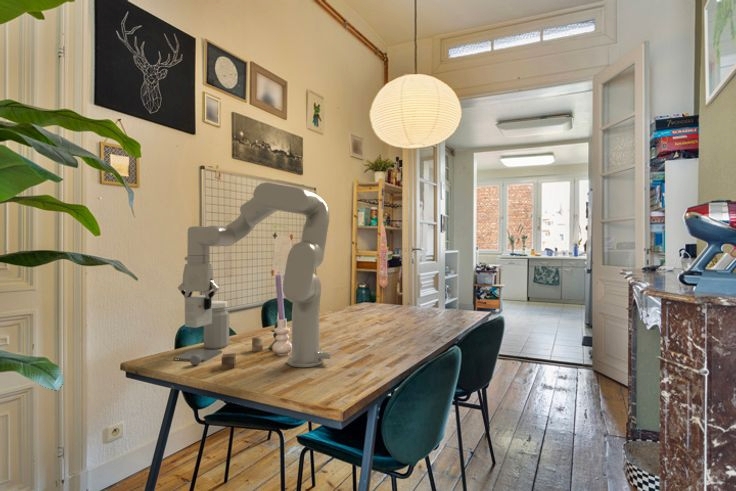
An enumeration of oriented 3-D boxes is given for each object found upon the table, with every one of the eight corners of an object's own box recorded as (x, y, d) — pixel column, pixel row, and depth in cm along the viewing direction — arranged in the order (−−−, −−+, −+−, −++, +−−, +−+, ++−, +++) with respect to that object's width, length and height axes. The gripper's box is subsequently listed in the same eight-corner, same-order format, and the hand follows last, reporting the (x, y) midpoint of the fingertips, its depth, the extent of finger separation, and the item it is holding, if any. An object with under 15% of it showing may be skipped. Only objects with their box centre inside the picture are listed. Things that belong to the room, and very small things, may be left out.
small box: (200, 322, 155) (200, 294, 155) (212, 323, 153) (212, 295, 152) (184, 326, 147) (184, 297, 147) (196, 327, 145) (196, 298, 145)
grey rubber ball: (203, 363, 141) (203, 353, 141) (197, 366, 137) (197, 356, 137) (193, 363, 141) (193, 352, 141) (187, 366, 138) (187, 355, 138)
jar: (217, 350, 158) (218, 304, 157) (197, 348, 161) (197, 302, 161) (234, 344, 167) (234, 300, 167) (215, 342, 170) (215, 299, 170)
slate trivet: (221, 352, 155) (221, 350, 155) (204, 361, 143) (204, 359, 143) (192, 351, 157) (192, 349, 157) (173, 360, 145) (173, 357, 145)
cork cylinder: (264, 349, 160) (264, 336, 160) (260, 352, 156) (260, 339, 156) (254, 349, 160) (254, 336, 160) (250, 351, 156) (250, 338, 156)
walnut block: (235, 365, 140) (235, 353, 140) (234, 368, 136) (234, 356, 136) (223, 365, 139) (223, 354, 139) (221, 369, 135) (221, 357, 135)
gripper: (170, 260, 147) (170, 309, 147) (215, 260, 145) (215, 311, 145) (182, 259, 155) (182, 306, 155) (225, 260, 152) (225, 308, 152)
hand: (198, 308), depth 150 cm, fingers closed on small box, 6 cm apart
